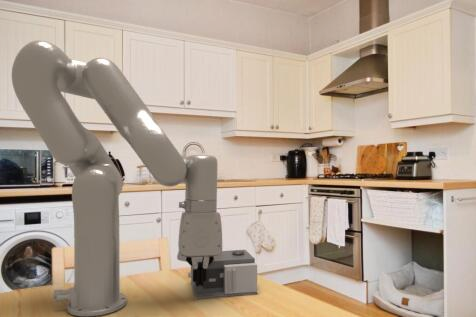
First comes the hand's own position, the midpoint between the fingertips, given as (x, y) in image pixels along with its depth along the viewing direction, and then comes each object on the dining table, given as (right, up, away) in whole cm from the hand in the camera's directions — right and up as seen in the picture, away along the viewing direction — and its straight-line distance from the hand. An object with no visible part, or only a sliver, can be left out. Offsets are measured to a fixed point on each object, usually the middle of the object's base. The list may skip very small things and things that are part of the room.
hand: (199, 284), depth 88 cm
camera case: (+5, -3, +7) cm, 9 cm away
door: (+10, -3, +2) cm, 10 cm away
